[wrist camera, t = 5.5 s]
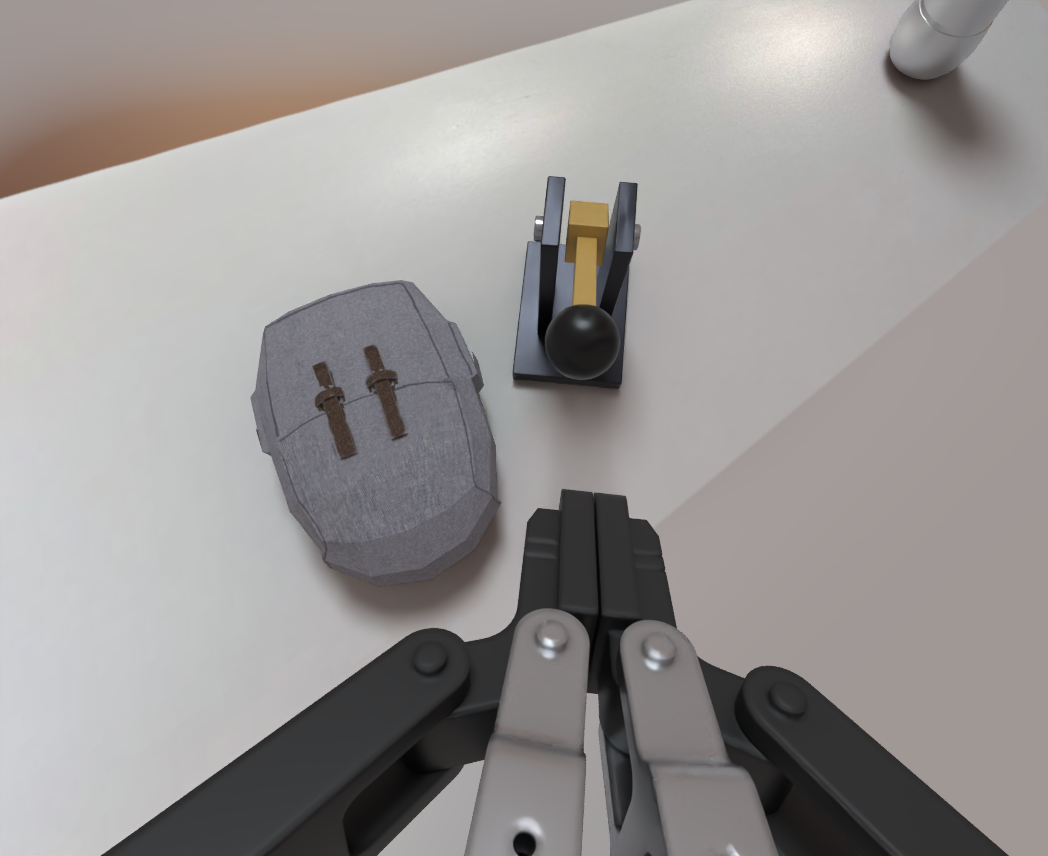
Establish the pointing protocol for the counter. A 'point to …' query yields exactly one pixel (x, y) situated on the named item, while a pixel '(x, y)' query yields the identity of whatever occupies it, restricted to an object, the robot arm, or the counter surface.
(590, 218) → the lever
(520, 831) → the robot arm
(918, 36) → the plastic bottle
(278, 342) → the soft grey pack
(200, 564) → the counter surface
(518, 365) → the lock bracket
